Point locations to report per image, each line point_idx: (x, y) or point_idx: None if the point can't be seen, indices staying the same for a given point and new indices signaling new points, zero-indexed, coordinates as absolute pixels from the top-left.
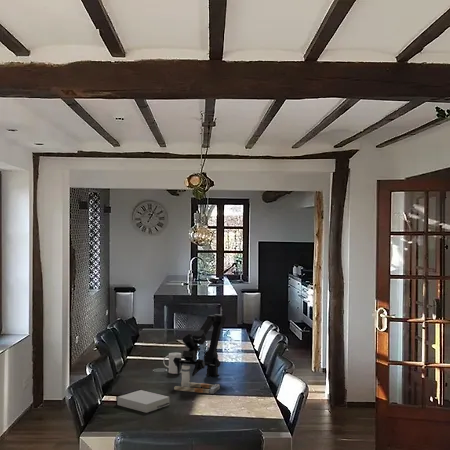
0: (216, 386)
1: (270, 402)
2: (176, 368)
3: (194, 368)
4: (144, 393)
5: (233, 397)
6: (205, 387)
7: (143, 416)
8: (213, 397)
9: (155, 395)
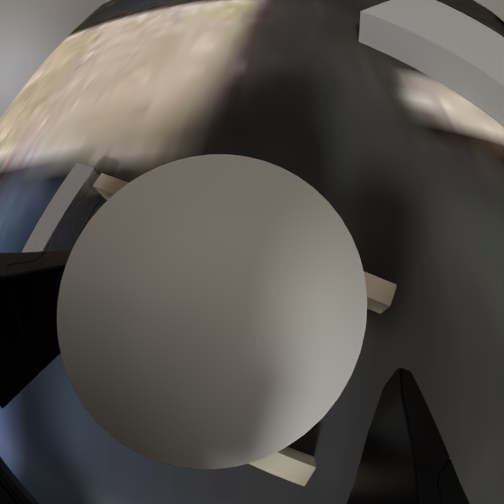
0: (35, 229)
1: (6, 114)
2: None
3: (30, 266)
4: (497, 67)
5: (48, 136)
6: None
7: None
8: (119, 120)
9: (434, 33)
